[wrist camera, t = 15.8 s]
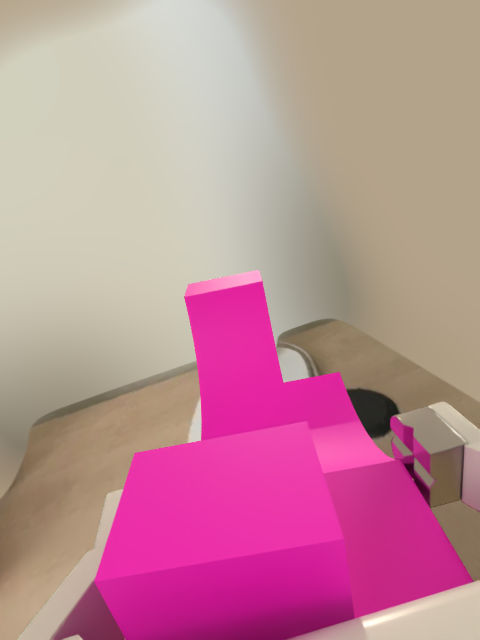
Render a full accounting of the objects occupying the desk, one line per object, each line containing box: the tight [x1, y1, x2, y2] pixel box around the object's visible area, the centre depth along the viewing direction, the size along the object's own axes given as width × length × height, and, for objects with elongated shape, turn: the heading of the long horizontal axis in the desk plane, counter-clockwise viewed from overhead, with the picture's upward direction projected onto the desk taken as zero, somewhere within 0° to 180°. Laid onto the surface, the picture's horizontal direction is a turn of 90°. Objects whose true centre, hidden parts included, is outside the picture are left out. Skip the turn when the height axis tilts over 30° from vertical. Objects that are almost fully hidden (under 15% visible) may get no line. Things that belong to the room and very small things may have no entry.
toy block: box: [94, 270, 474, 640], centre depth 14 cm, size 15×6×8 cm, turn 2°
